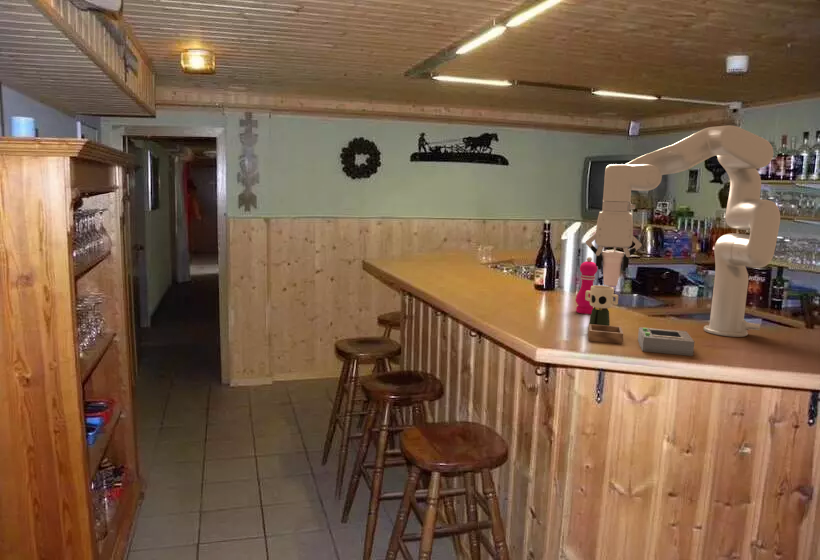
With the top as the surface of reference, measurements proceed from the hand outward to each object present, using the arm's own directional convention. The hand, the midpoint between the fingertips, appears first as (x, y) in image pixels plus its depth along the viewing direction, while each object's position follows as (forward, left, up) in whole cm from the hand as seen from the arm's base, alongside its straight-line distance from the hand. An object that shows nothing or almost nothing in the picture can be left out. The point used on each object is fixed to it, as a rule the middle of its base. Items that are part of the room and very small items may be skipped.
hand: (611, 269), depth 185 cm
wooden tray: (0, 0, -21) cm, 21 cm away
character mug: (+1, -16, -21) cm, 26 cm away
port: (-16, +5, -21) cm, 27 cm away
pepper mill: (+5, -39, -21) cm, 45 cm away
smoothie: (0, 0, -5) cm, 5 cm away
